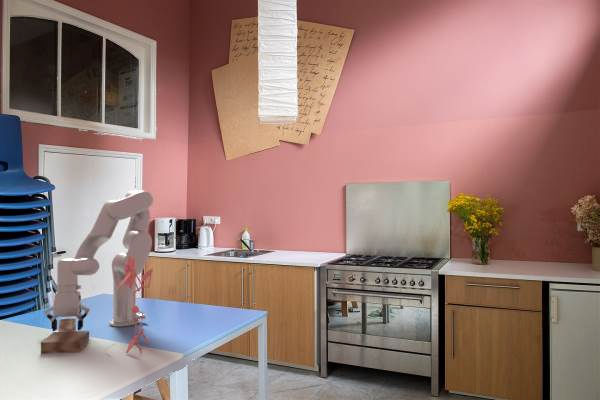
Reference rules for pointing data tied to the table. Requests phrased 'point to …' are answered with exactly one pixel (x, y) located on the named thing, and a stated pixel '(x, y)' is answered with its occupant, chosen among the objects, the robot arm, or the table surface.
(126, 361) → the table surface
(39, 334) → the table surface
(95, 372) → the table surface
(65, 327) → the maple block
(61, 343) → the walnut base
